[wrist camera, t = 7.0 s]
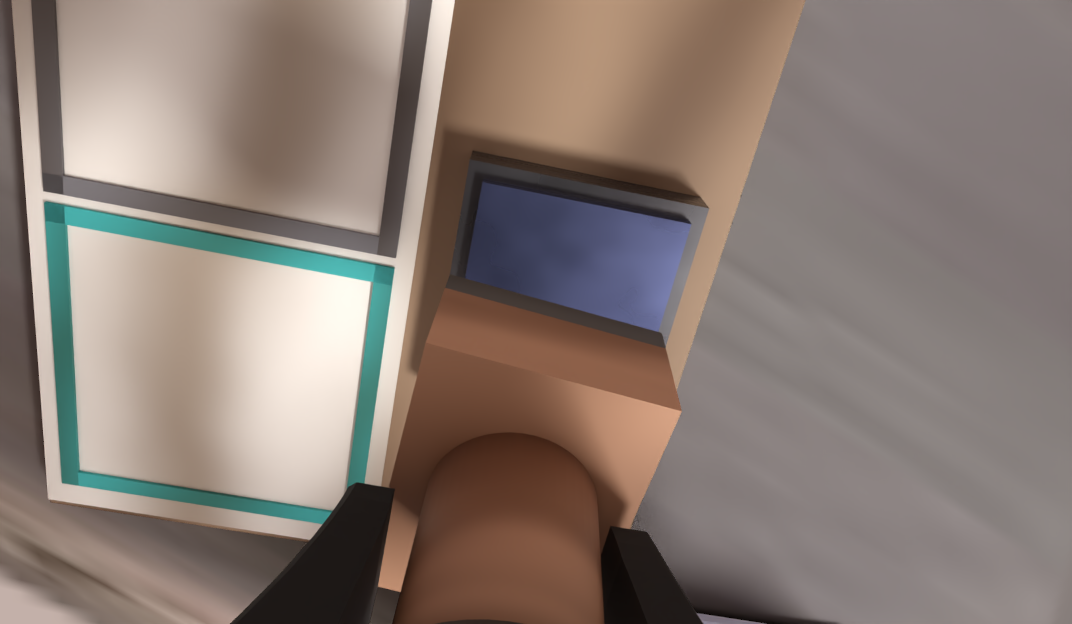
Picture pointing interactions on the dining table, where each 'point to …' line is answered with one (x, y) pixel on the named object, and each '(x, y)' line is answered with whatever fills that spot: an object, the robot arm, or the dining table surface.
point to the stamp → (521, 458)
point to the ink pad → (578, 239)
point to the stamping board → (323, 213)
